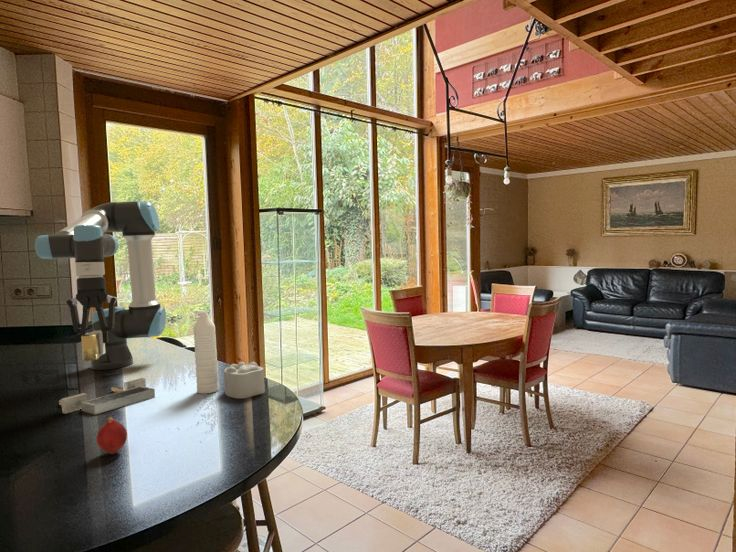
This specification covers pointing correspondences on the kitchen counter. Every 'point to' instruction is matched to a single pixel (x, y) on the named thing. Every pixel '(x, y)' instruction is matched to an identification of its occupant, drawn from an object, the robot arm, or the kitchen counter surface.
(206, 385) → the water bottle
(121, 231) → the robot arm
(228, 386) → the lumpy-topped squat cylinder
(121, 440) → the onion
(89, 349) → the lock bar
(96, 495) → the kitchen counter surface
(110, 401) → the door board
